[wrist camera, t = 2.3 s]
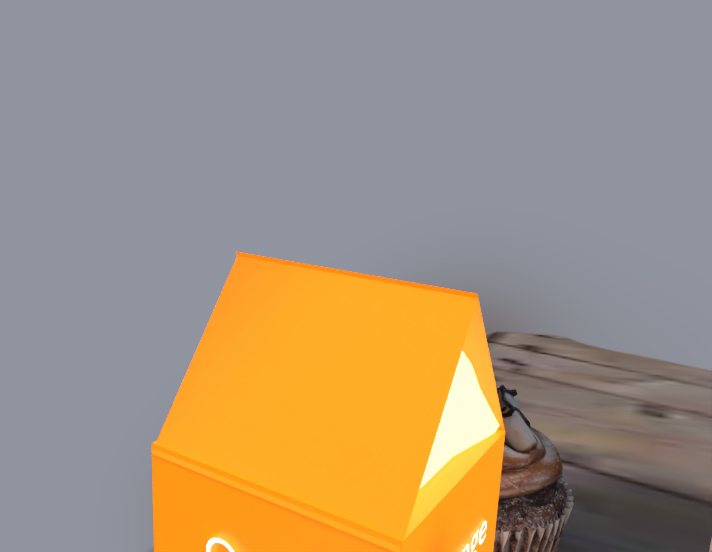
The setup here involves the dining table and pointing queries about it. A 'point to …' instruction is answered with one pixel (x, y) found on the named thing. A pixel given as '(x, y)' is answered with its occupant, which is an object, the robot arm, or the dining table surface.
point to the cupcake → (529, 486)
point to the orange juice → (332, 420)
